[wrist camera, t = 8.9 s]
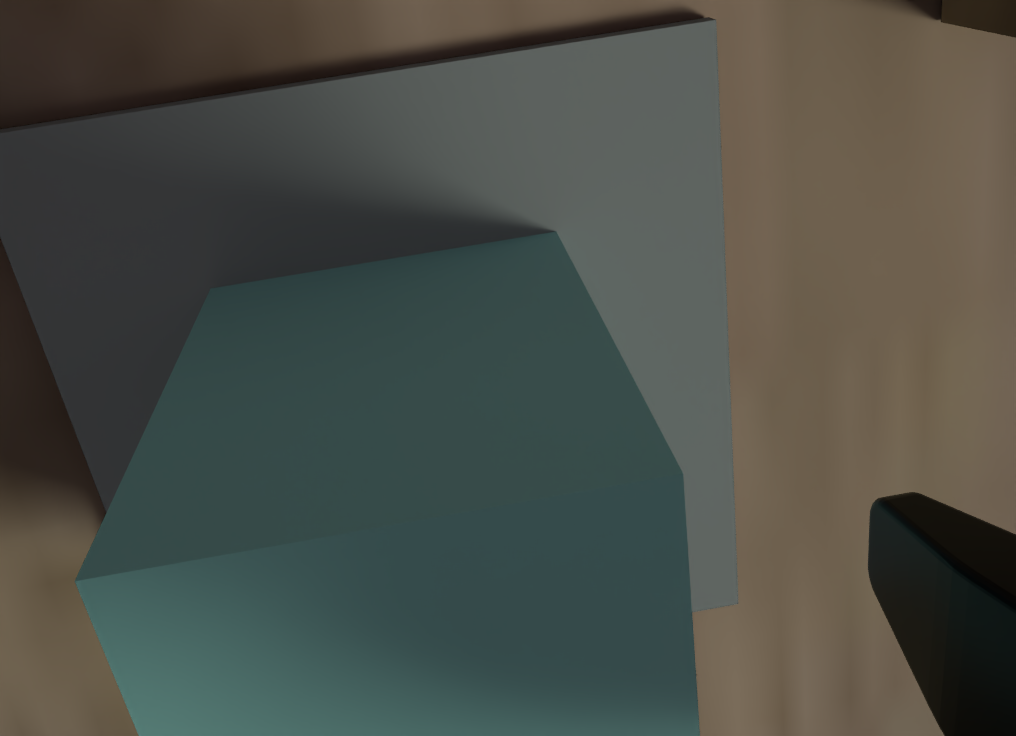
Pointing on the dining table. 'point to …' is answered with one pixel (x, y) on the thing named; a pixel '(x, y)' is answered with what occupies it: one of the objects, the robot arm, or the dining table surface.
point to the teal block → (401, 515)
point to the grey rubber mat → (395, 223)
